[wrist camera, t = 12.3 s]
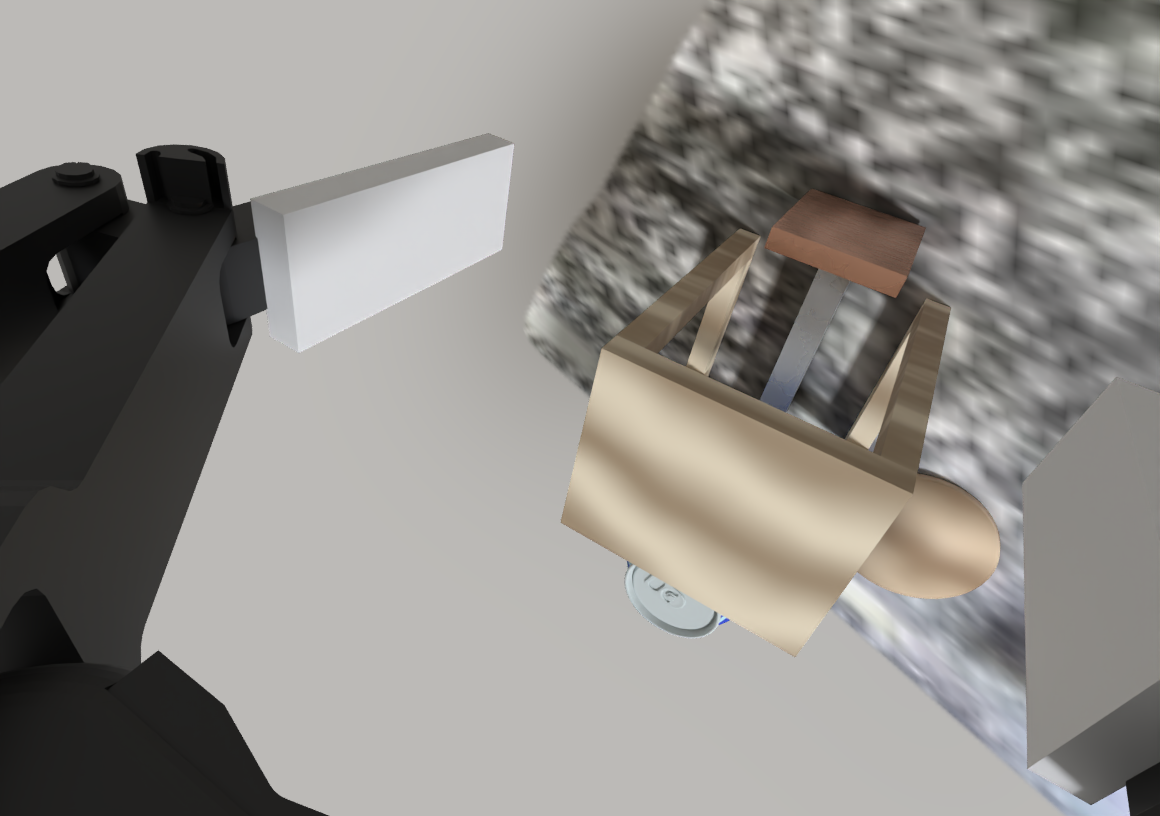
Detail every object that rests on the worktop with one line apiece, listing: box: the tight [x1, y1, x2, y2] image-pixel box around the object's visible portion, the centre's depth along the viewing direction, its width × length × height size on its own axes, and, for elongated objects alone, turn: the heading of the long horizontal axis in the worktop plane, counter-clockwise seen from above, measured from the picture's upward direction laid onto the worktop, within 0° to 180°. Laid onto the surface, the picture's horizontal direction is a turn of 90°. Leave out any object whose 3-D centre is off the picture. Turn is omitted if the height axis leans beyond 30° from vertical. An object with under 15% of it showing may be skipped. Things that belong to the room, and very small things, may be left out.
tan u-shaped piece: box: [760, 189, 926, 413], centre depth 41 cm, size 18×7×9 cm, turn 168°
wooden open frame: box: [561, 228, 951, 657], centre depth 38 cm, size 12×14×20 cm
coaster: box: [857, 474, 1000, 599], centre depth 48 cm, size 11×11×1 cm
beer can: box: [625, 561, 729, 638], centre depth 47 cm, size 8×8×16 cm
